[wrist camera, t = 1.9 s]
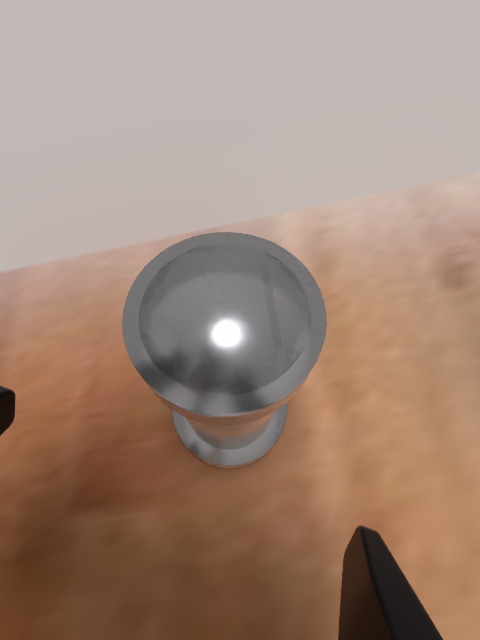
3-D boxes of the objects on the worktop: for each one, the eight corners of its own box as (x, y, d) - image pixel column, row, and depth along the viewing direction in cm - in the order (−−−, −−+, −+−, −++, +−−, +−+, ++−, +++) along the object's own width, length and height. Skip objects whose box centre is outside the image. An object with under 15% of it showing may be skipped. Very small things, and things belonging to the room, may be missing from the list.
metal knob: (299, 443, 19) (382, 372, 8) (197, 486, 18) (143, 469, 7) (257, 350, 22) (280, 202, 11) (165, 384, 20) (89, 258, 10)
